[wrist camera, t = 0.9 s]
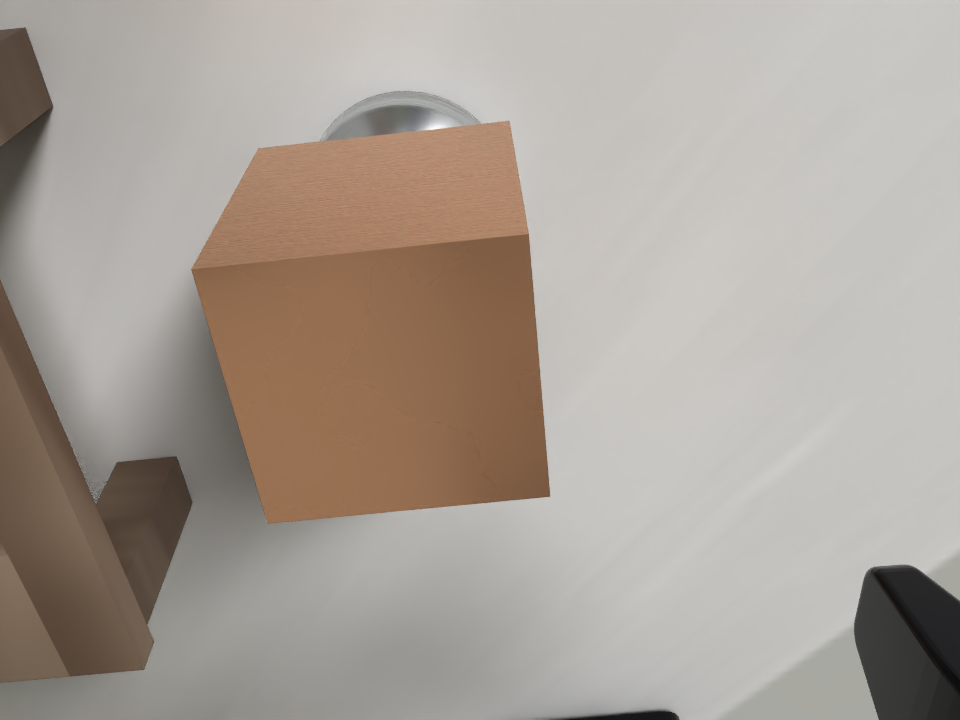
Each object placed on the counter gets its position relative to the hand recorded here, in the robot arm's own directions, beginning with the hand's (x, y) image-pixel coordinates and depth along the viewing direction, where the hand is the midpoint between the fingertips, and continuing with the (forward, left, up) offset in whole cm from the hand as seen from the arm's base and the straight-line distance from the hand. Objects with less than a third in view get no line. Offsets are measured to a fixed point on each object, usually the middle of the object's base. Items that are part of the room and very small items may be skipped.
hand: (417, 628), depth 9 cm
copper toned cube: (0, +1, -13) cm, 13 cm away
